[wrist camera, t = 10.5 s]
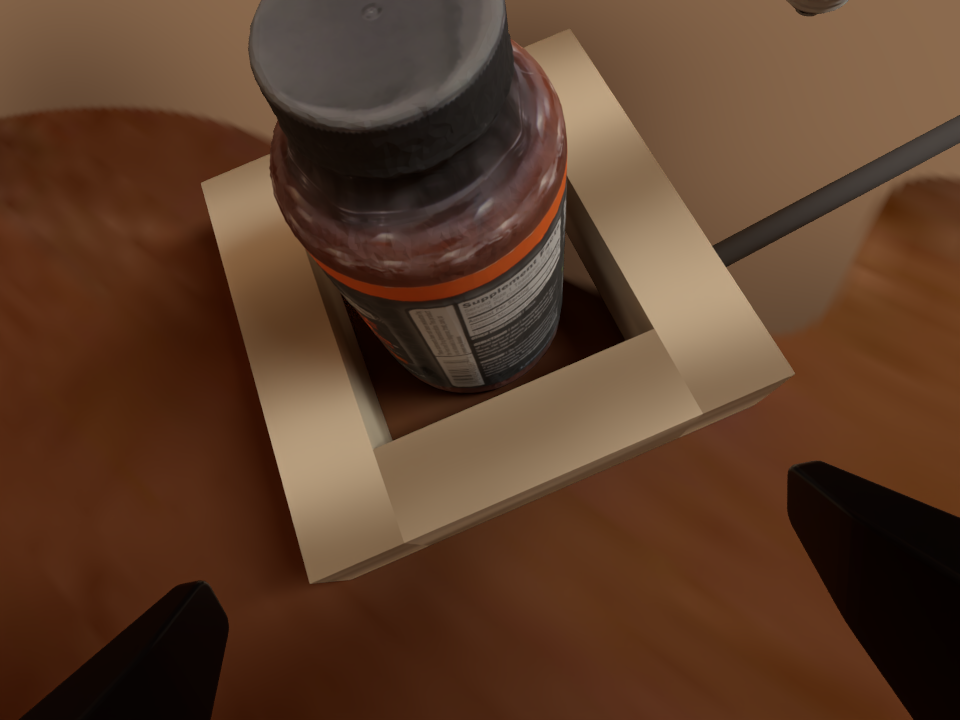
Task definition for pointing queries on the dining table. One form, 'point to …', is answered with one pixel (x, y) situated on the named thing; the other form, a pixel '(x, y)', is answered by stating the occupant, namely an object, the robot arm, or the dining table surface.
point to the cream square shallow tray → (519, 412)
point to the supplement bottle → (422, 175)
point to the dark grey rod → (839, 192)
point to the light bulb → (816, 6)
